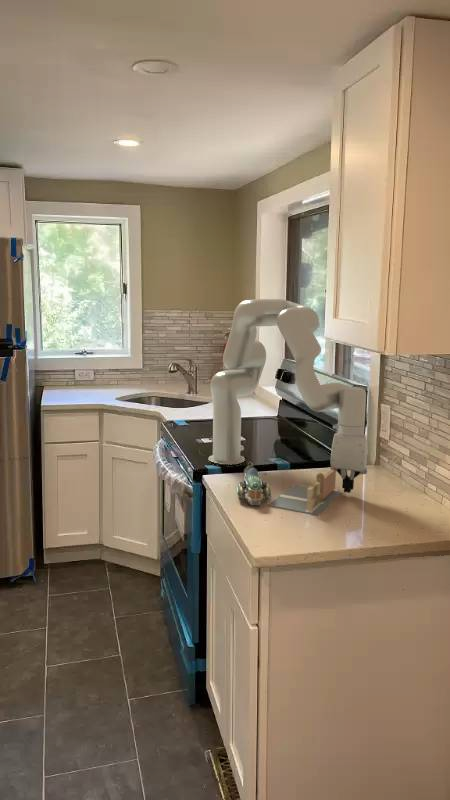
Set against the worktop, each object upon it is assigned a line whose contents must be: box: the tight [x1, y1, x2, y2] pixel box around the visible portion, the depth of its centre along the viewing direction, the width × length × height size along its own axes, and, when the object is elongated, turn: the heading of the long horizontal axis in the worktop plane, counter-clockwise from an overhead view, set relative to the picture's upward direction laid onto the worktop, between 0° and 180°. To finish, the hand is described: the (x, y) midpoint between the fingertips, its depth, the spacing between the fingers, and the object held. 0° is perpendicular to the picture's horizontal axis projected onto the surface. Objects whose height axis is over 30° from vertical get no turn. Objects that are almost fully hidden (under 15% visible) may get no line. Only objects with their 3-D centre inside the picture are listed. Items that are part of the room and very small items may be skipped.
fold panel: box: [323, 469, 337, 499], centre depth 187 cm, size 11×1×7 cm, turn 152°
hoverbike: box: [236, 461, 272, 508], centre depth 189 cm, size 10×25×8 cm, turn 2°
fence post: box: [307, 472, 325, 511], centre depth 178 cm, size 10×2×9 cm, turn 152°
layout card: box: [266, 483, 343, 516], centre depth 185 cm, size 21×15×1 cm
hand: (347, 491), depth 188 cm, fingers closed
